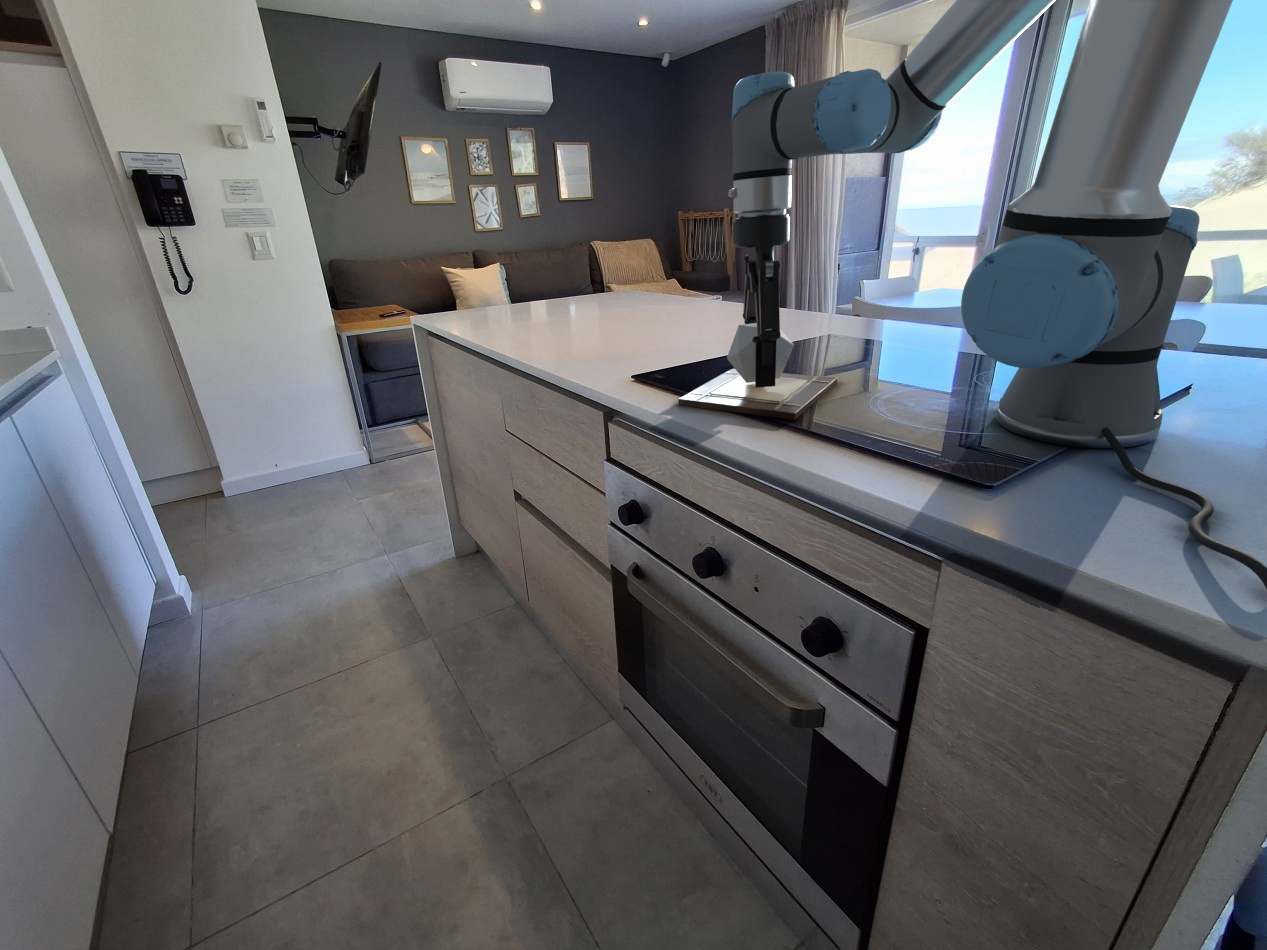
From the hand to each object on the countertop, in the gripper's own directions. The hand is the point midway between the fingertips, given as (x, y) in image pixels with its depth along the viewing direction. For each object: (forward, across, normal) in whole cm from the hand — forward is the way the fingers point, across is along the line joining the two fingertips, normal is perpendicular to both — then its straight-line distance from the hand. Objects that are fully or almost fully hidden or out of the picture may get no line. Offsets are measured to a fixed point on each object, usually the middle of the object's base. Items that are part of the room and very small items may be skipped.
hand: (759, 376), depth 86 cm
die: (0, 0, 0) cm, 0 cm away
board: (+3, 0, 0) cm, 3 cm away
